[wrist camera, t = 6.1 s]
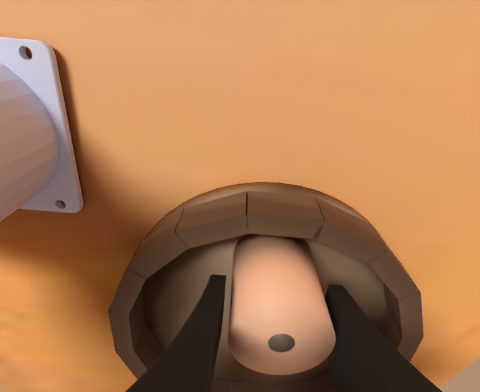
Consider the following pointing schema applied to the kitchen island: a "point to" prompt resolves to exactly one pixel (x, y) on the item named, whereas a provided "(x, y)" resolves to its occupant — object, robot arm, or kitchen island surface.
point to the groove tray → (221, 263)
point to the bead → (277, 306)
